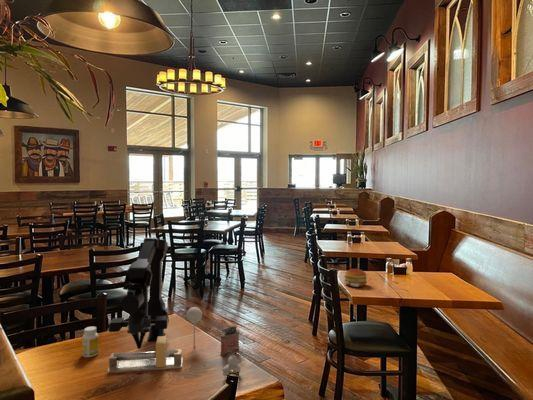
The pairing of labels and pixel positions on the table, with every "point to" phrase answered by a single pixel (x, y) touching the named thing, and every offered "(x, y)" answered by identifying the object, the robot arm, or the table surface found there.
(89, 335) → the supplement bottle
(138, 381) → the table surface
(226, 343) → the lighter
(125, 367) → the grey piece
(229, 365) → the rubber duck
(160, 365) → the tan wooden block
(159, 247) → the robot arm
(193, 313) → the lollipop
